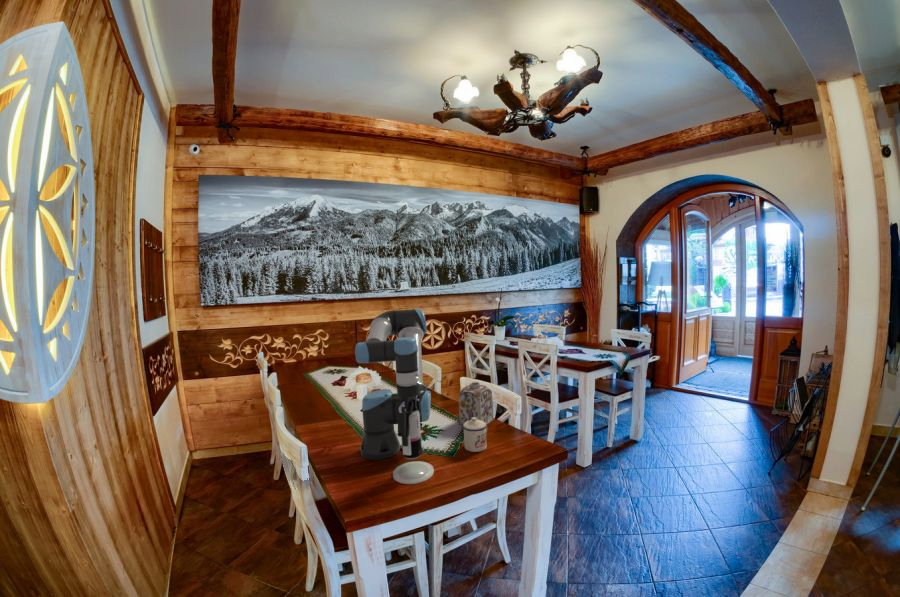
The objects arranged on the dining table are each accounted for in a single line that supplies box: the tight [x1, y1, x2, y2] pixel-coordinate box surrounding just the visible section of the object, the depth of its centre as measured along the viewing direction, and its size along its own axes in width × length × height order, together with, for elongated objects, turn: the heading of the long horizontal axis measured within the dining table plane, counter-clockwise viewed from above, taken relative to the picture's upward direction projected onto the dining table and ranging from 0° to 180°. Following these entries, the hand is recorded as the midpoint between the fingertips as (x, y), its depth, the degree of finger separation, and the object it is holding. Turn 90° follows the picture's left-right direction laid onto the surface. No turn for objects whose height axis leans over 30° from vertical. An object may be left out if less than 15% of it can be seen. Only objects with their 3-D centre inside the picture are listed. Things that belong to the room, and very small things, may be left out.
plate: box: [392, 460, 435, 485], centre depth 128 cm, size 14×14×1 cm
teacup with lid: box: [462, 417, 488, 453], centre depth 146 cm, size 12×9×12 cm
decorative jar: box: [458, 381, 494, 426], centre depth 170 cm, size 12×12×18 cm
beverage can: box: [401, 410, 423, 460], centre depth 128 cm, size 7×6×15 cm
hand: (412, 449), depth 128 cm, fingers closed on beverage can, 6 cm apart
